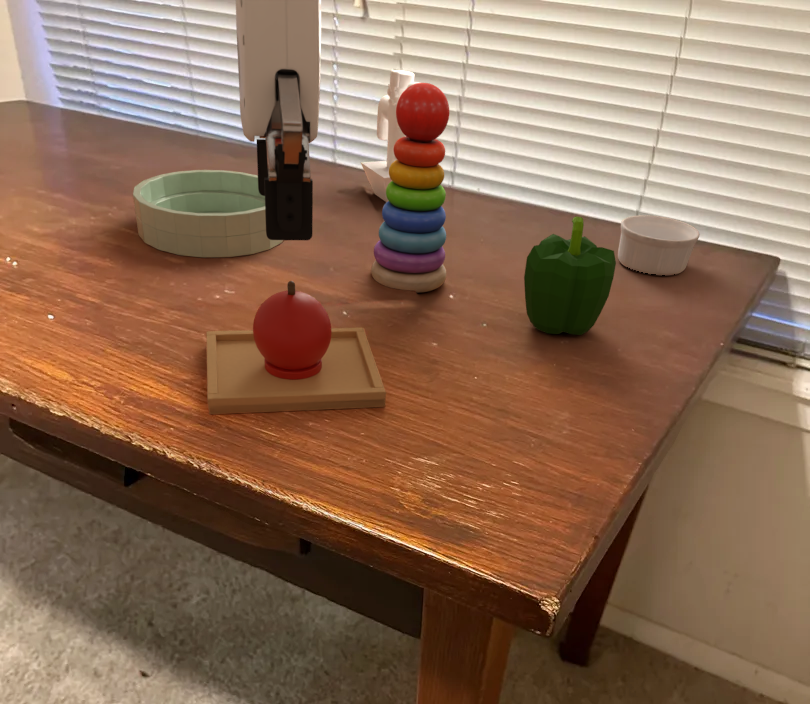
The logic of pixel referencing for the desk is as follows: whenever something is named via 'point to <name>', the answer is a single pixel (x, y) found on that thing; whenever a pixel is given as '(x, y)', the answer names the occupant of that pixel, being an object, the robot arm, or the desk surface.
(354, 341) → the tray
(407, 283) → the stacking toy
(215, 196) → the bowl
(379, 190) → the figurine
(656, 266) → the ramekin
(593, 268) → the bell pepper
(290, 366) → the red round based ball
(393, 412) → the desk surface
